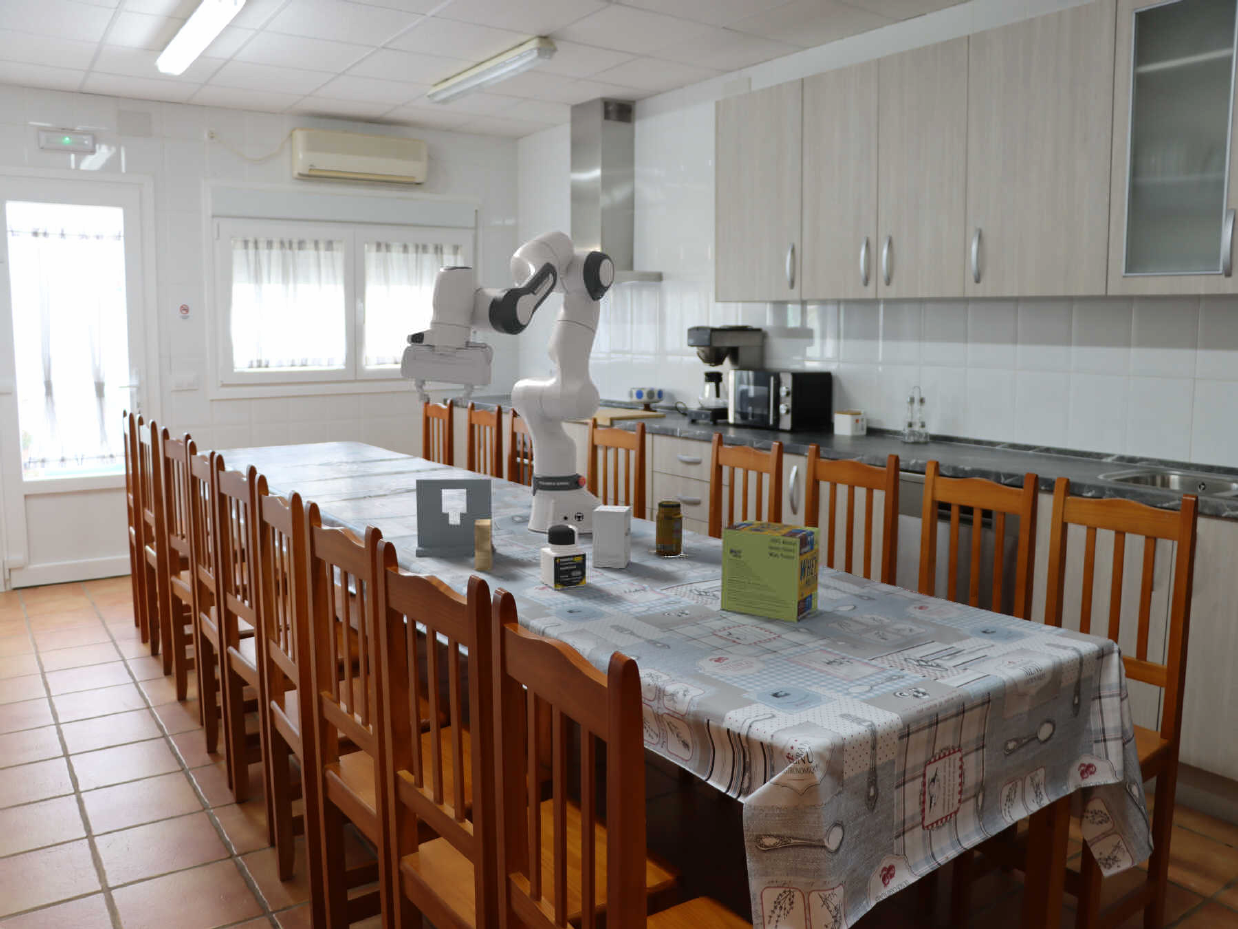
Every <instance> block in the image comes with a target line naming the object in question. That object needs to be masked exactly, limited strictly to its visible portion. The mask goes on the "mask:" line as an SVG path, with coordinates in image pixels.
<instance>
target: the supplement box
mask: <svg viewBox="0 0 1238 929" xmlns="http://www.w3.org/2000/svg"><path fill="white" fill-rule="evenodd" d="M631 508H632V507H631V506H629V505H604V506H599V507H597V508H596V509H595V510H594V511H593V533H592V567H594V568H602V567H613V568H612V569H619V568H624V569H625V568H626V566H627V565H628V564H629V563H630V561H631V535H632V534H631V533H632V532H631V527H632V526H631V525H632V524H631V522H632V521H631V518H632V514H631V511H632V509H631Z"/></svg>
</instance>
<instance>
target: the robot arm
mask: <svg viewBox="0 0 1238 929" xmlns="http://www.w3.org/2000/svg"><path fill="white" fill-rule="evenodd" d="M574 248H575V247H574V244H573V242H572V240H571V238H570V237H569V236H568V235H567V234H565V232H562V231H559V230H549V231H545V232H544V233H540V234H539V235H537V236H535V237H533V238H531V239H530V240H529V241H527V242H526V243H523V245H522V246H520V247H519V248H518V249H517V250H516V251H515V252H514V253H513V255H512V257H511V258H510V264H509V267H510V269H509V270H510V274H511V276H512V279H513V280H514V282H515V284H517V285H518V286H519V287H508V288H488V287H487V288H485V287H484V286H483V285H481V283H480V282H479V281H478V280H477V278H476V274H475V270H474V268H473V267H470V266H463V265H462V266H459V265H458V266H454V265H453V266H450V265H449V266H447V265H446V266H444V267H441V268H439V271H438V273H437V275H436V278H435V282H434V287H433V295H432V317H431V320H430V323H429V328H426V329H423V330H419V331H416V332H413V333H409V334H407V338H406V342H407V344H408V345H407V346H406V347H405V349H404V350H403V352H402V357H401V358H402V359H401V363H400V375H401V376H402V378H403V379H405V380H413V381H415V382H414V386H415V388H416V390H417V393H418V399H417V400H418V402H421V403H428V402H429V396H430V395H429V394H427V393H426V392H425V388H424V387H425V386H426V382H432V383H443V384H453V385H454V384H455V385H464V387H463V388H464V390H465V392H464V394H463V395H462V396H461V397H460V396H459V397H458V398H457V400H458V401H457V406H459V407H468V404H469V399H470V397H471V396H472V394H474V392H475V386H476V387H486V388H488V387H489V385H490V384H491V383H492V361H493V355H494V352H493V348H492V347H491V346H490V345H488V344H487V343H486V342H481V343H480V342H474V341H471V336H472V332H481V333H497V334H498V333H499V334H500V333H501V334H505V335H511V336H512V335H513V336H516V335H520V334H521V333H522V332H523V331H525V330H526V328H527V327H528V326H529V325H530V322H531V321H532V318H533V316H534V314H535V313H536V311H537V310H538V309H539V307H541V306H542V304H543V303H544V302H545V300H547V298H548V297H549V296H550V294H551V293H553V292H554V293H559V294H563V302H562V303H561V305H560V307H559V310H558V312H557V315H556V318H555V321H554V325H553V328H552V331H551V333H550V334H551V335H550V337H549V338H550V339H549V342H548V345H547V347H546V348H547V354H548V356H549V358H550V360H551V361H552V362H553V363H554V364H555V365H556V367H555V368H556V369H555V375H554V376H532V377H531V376H530V377H526V378H522V379H519V380H518V381H517V382H515V384H514V386H513V387H512V390H511V395H510V399H511V405H512V407H513V409H514V411H515V412H516V413H517V414H518V415H519V416H520V417H521V419H522V420H523V422H524V423H525V425H526V427H527V430H528V433H529V437H530V439H531V443H532V455H533V456H532V458H533V459H532V460H533V473H532V476H531V493H532V504H531V512H530V517H529V521H528V525H527V528H528V529H529V530H531V531H536V532H540V533H547V534H548V529H549V528H550V527H552V526H555V525H571V526H574V527H576V528H577V529H578V534H591V533H592V534H593V511H594V510H595V509H596V508H597V507H599V506H605V505H604V503H603V501H601V500H600V499H599V498H598V497H596V496H595V494H593V493H591V492H590V491H589V490H588V489H586V488H585V486H586V484H587V479H586V477H585V476H584V475H582V474H580V473H577V444H576V442H575V440H574V439H573V438H572V437H570V435H568V434H567V432H566V431H565V429H564V427H563V424H562V422H571V423H573V422H574V423H575V422H580V421H581V422H582V421H586V420H590V419H593V417H595V415H596V414H597V413H598V411H599V407H600V403H601V402H600V401H601V397H600V393H599V390H598V388H597V386H596V385H595V384H594V382H593V381H592V379H591V376H590V369H589V368H590V366H589V365H590V364H589V363H590V358H591V353H592V348H593V345H594V343H595V342H594V341H595V338H596V334H597V330H598V326H599V321H600V315H601V314H600V313H601V300H602V299H603V297H604V296H605V294H606V293H607V292H608V291H609V290H610V288H611V286H612V284H613V281H614V278H615V267H614V263H613V260H612V259H611V257H610V256H609V255H608V254H606V253H604V252H603V251H602V252H601V251H597V250H591V251H590V250H584V249H574Z"/></svg>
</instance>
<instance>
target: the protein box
mask: <svg viewBox="0 0 1238 929" xmlns="http://www.w3.org/2000/svg"><path fill="white" fill-rule="evenodd" d="M820 532H821V528H819V527H812V526H802V525H795V524H786V523H779V522H767V521H758V520H751V519H750V520H749V519H746V520H744V521H741V522H738V523H735V524H732V525H729V526H726V527H724V528H722V539H721V540H722V541H721V542H722V545H721V549H722V550H721V582H720V584H721V585H720V586H721V588H720V609H721V610H724V609H725V611H730V612H735V611H736V612H735V613H742V614H747V615H752V616H757V617H763V618H768V619H775V620H779V619H780V621H786V622H791V623H798V622H799V621H800V620H802V619H804V618H806V617H807V616H809V615H810V614H811V613H813V612H815V611H817V610H818V596H819V594H818V593H819V567H820V566H819V565H820V564H819V563H820V562H819V560H820V557H819V556H820V534H821V533H820Z"/></svg>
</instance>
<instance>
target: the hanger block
mask: <svg viewBox="0 0 1238 929" xmlns="http://www.w3.org/2000/svg"><path fill="white" fill-rule="evenodd" d="M492 541H493V537H492V538H491V519H477V520H476V522H475V555H474V561H475V562H474V563H475V564H474V569H475V570H479V571H482V572H483V570H490V569H492V564H493V559H492V558H493V555H494V553H495V545H494V542H493V543H492ZM490 571H491V570H490Z"/></svg>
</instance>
